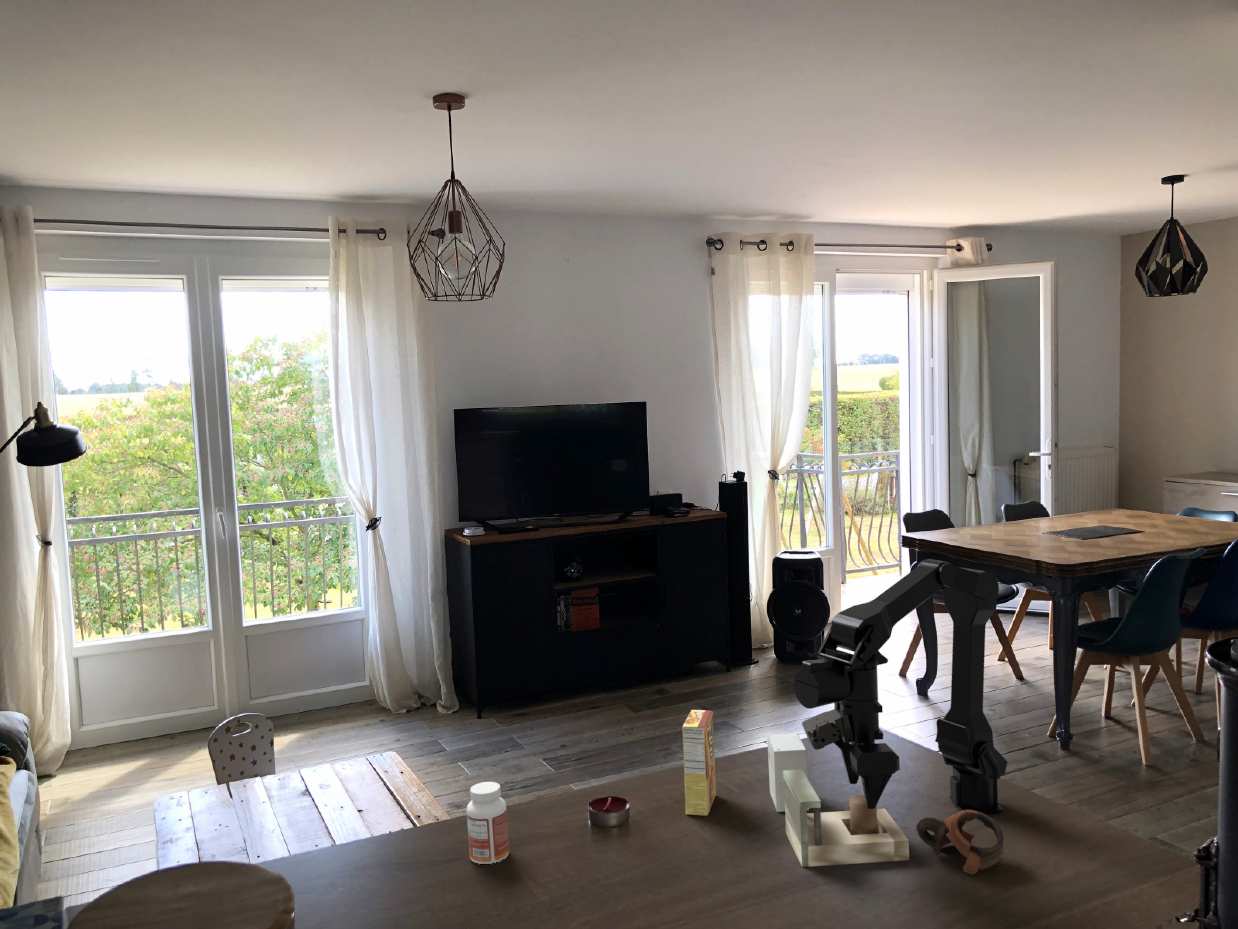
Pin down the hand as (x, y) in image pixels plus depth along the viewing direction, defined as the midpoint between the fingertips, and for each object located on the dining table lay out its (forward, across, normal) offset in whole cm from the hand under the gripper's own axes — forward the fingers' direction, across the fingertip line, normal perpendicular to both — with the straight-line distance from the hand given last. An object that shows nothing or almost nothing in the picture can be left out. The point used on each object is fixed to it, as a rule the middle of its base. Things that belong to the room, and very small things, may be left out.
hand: (861, 795), depth 141 cm
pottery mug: (+8, +6, +13) cm, 16 cm away
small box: (+8, -17, -8) cm, 20 cm away
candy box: (+8, -18, -23) cm, 30 cm away
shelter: (+8, 0, -3) cm, 8 cm away
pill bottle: (+8, -4, -58) cm, 59 cm away
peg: (+8, 0, 0) cm, 8 cm away
